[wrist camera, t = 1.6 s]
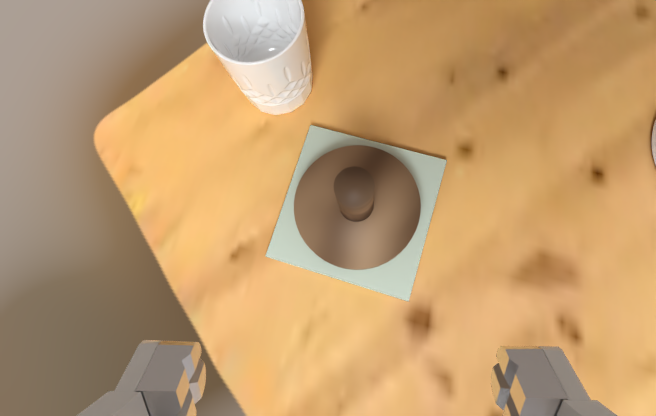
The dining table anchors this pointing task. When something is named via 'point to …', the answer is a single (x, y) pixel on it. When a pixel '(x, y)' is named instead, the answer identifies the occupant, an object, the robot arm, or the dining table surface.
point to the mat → (384, 278)
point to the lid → (357, 207)
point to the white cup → (263, 50)
